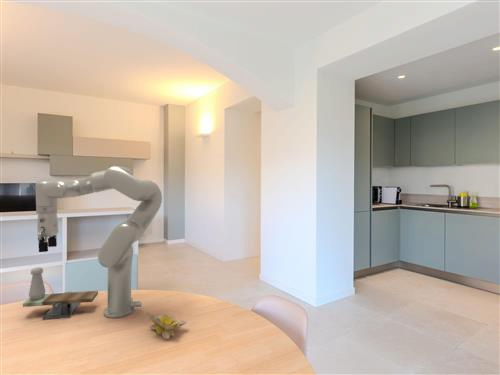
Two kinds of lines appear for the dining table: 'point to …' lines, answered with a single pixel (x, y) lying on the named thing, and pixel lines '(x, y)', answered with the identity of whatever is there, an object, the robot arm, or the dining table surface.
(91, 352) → the dining table surface
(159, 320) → the decorative flower
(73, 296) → the balance beam
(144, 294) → the dining table surface
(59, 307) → the beam stand
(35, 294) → the salt shaker
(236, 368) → the dining table surface
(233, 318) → the dining table surface
